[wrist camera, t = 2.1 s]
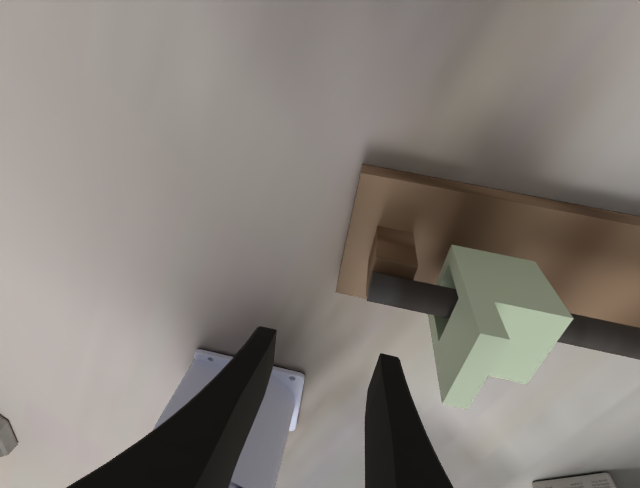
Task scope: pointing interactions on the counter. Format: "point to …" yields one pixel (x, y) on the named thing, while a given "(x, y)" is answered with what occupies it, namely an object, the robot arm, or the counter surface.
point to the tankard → (6, 437)
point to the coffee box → (578, 482)
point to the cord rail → (493, 251)
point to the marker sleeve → (493, 322)
